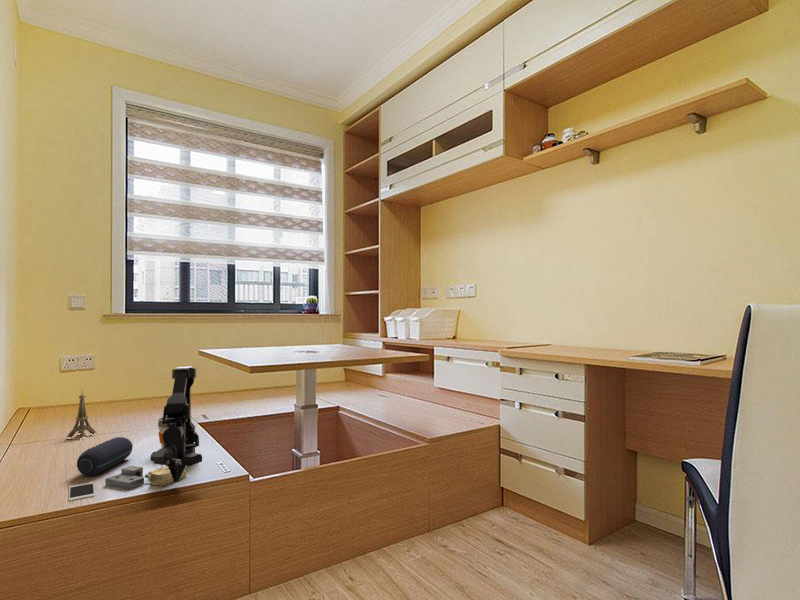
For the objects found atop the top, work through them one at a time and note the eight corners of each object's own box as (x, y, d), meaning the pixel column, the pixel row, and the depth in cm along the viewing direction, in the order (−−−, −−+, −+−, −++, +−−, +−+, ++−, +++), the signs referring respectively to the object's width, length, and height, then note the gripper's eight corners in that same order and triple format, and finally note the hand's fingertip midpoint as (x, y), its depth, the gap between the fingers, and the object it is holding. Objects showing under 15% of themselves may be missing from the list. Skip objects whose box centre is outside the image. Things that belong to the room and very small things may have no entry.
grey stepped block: (131, 476, 174) (131, 465, 174) (154, 480, 170) (154, 469, 170) (105, 485, 165) (105, 474, 165) (129, 489, 160) (129, 478, 160)
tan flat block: (162, 472, 177) (162, 462, 177) (186, 476, 172) (186, 466, 173) (137, 482, 167) (137, 471, 167) (162, 486, 163) (162, 475, 163)
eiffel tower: (99, 434, 239) (99, 385, 240) (83, 440, 228) (83, 389, 229) (80, 434, 240) (80, 385, 241) (63, 439, 229) (64, 389, 230)
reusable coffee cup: (150, 454, 201) (151, 420, 202) (174, 447, 213) (174, 414, 214) (173, 457, 197) (173, 421, 198) (195, 449, 209) (195, 415, 209)
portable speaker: (111, 458, 197) (112, 435, 198) (135, 458, 197) (135, 434, 198) (70, 479, 172) (71, 452, 173) (98, 478, 172) (98, 451, 173)
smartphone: (68, 502, 151) (68, 499, 151) (69, 488, 164) (69, 485, 164) (94, 497, 155) (94, 494, 155) (93, 484, 168) (93, 481, 168)
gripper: (136, 440, 160) (136, 486, 159) (177, 445, 153) (177, 493, 152) (164, 432, 170) (164, 475, 170) (203, 437, 163) (203, 482, 163)
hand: (176, 481), depth 163 cm, fingers closed
